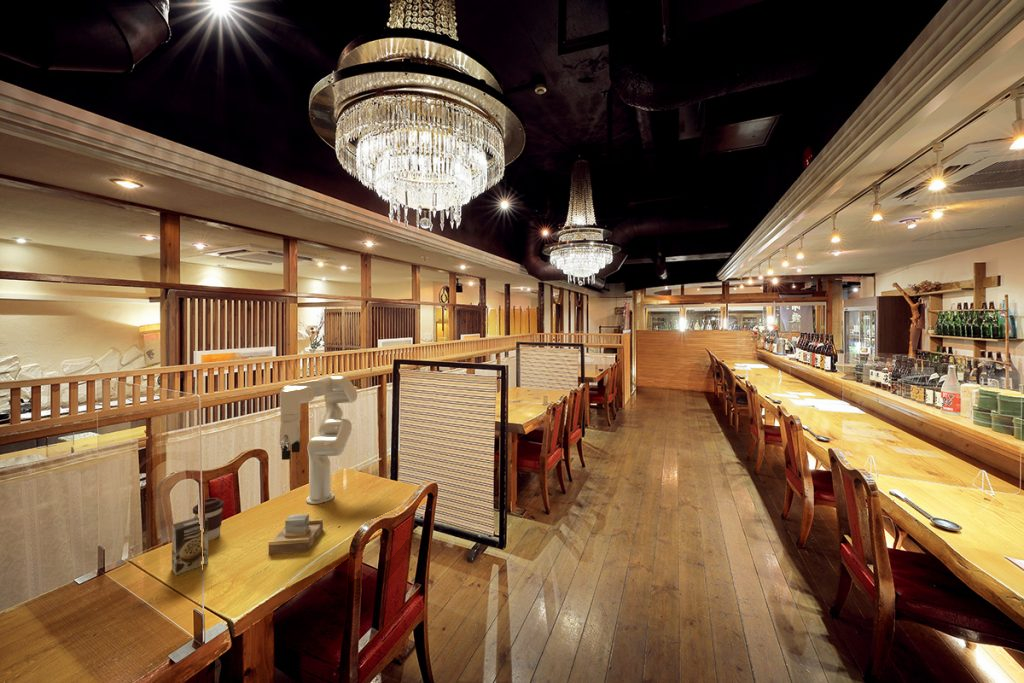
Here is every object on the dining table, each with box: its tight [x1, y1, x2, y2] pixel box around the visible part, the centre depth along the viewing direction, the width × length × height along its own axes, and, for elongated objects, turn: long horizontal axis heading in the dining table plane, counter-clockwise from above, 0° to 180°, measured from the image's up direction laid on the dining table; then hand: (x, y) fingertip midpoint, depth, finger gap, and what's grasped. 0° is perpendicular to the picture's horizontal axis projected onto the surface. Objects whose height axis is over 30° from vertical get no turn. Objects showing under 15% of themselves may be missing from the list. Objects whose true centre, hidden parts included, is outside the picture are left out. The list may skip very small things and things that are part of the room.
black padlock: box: [284, 513, 310, 536], centre depth 150 cm, size 5×8×6 cm, turn 98°
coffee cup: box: [192, 497, 225, 542], centre depth 152 cm, size 10×10×15 cm
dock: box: [268, 518, 324, 555], centre depth 149 cm, size 16×14×5 cm
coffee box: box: [171, 517, 209, 576], centre depth 133 cm, size 9×6×16 cm
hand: (291, 455), depth 163 cm, fingers open, 9 cm apart
